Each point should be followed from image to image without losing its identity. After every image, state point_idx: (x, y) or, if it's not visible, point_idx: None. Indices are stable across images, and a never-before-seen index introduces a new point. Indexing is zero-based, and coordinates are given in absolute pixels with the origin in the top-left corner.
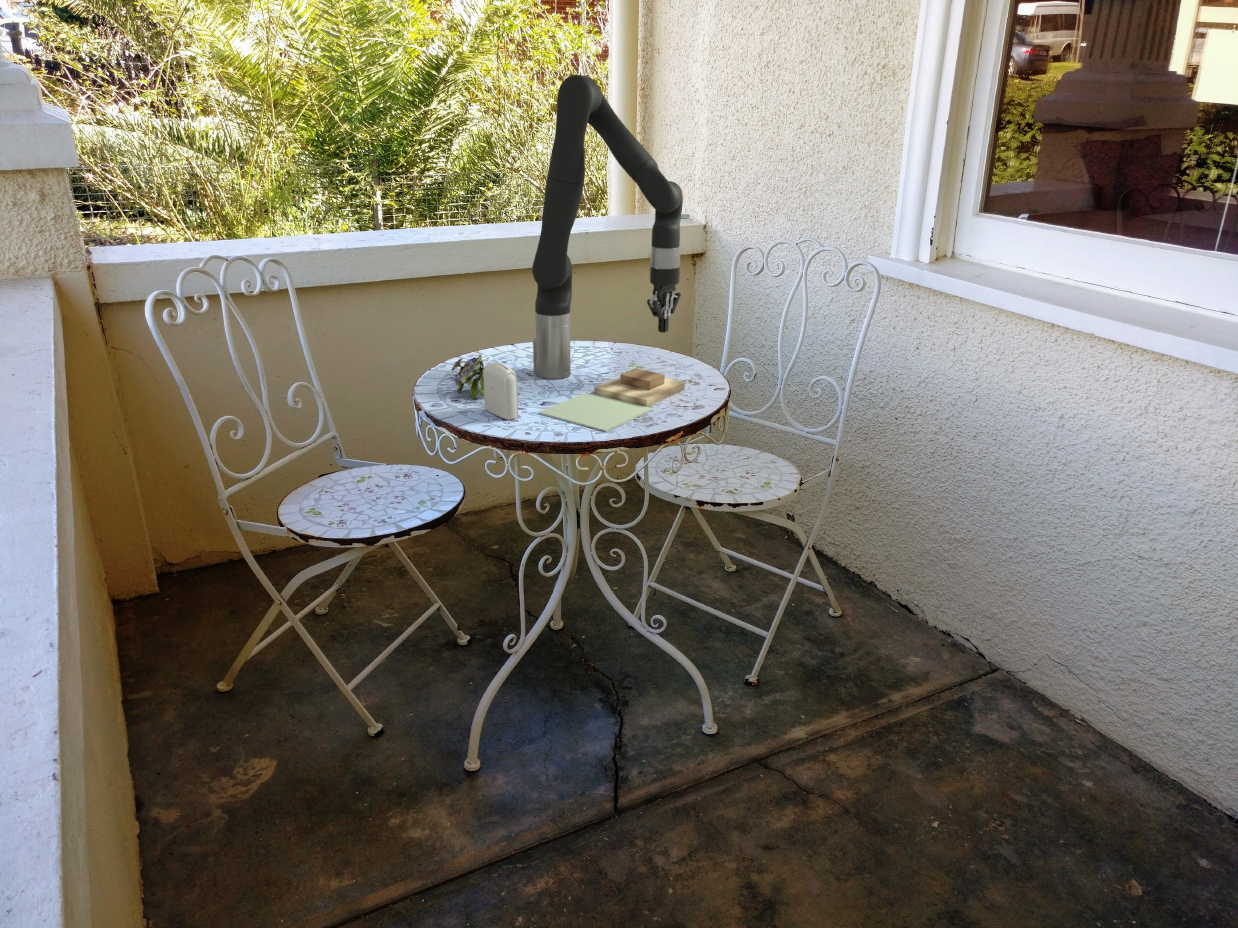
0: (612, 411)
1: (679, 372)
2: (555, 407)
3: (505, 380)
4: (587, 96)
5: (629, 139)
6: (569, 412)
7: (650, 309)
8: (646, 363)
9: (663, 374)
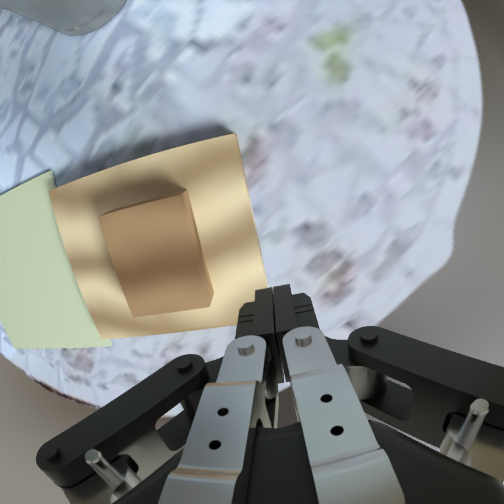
0: (42, 303)
1: (388, 192)
2: None
3: None
4: None
5: None
6: None
7: (109, 406)
8: (380, 60)
9: (206, 305)
